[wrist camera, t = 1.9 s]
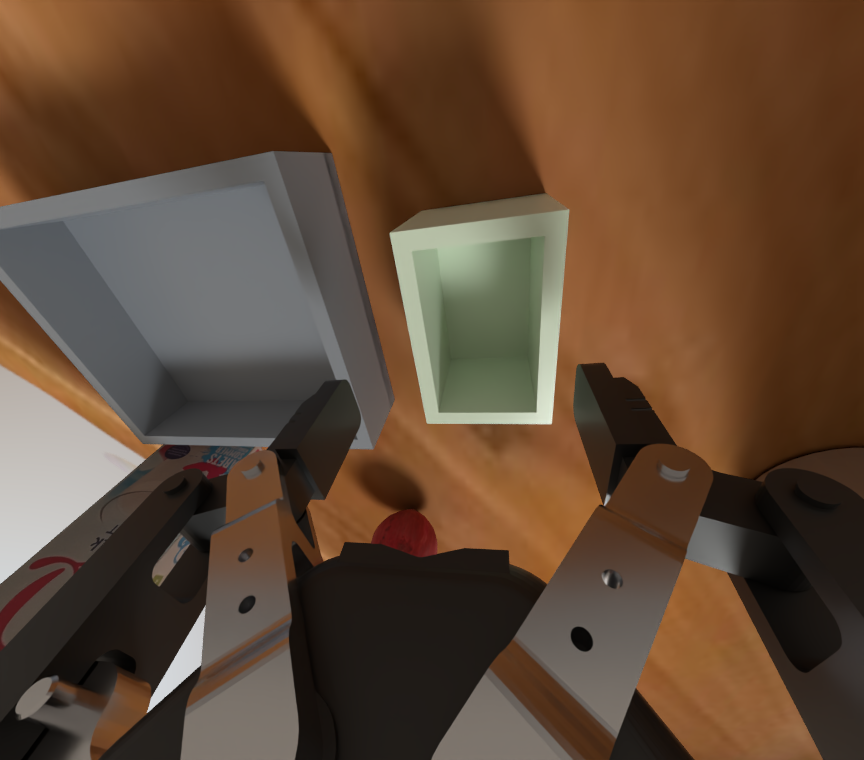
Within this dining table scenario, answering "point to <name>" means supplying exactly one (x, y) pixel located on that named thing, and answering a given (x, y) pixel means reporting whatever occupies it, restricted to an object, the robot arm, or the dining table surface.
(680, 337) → the dining table surface
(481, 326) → the small crate
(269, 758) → the robot arm
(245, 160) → the big crate
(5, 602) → the milk carton
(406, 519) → the onion
